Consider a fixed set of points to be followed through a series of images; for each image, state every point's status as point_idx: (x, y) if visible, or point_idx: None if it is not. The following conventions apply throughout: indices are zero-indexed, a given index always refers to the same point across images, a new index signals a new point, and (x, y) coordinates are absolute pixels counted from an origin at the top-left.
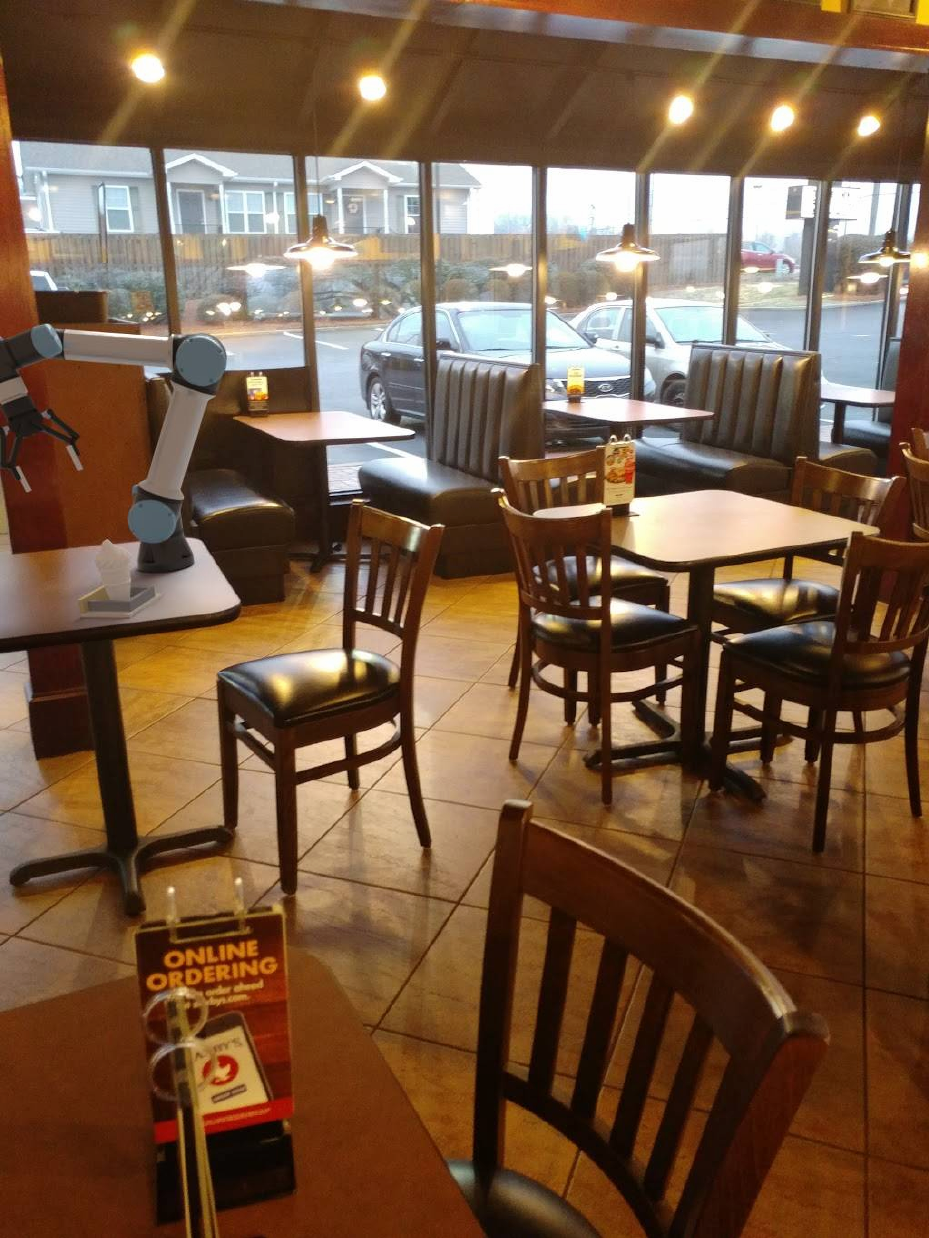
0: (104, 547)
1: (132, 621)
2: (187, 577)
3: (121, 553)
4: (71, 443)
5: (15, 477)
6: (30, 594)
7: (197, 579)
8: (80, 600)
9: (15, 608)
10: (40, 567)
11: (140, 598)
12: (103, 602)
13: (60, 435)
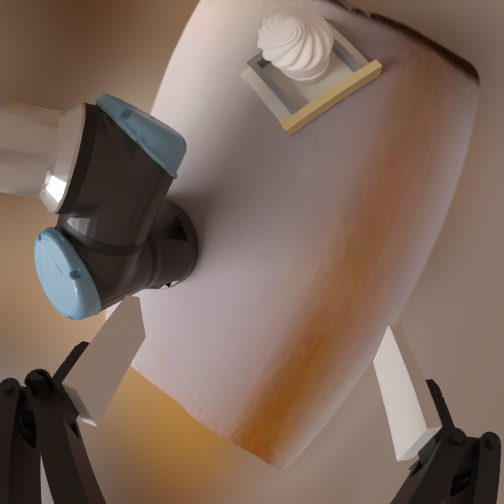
0: (305, 18)
1: (326, 6)
2: None
3: (279, 12)
4: (53, 382)
5: (440, 392)
6: (381, 284)
7: None
8: (378, 62)
9: (434, 224)
10: (290, 407)
11: None
12: (344, 48)
13: (55, 458)
